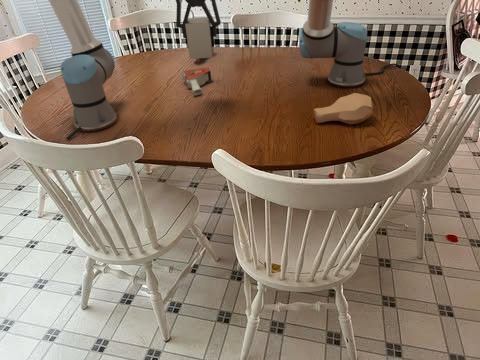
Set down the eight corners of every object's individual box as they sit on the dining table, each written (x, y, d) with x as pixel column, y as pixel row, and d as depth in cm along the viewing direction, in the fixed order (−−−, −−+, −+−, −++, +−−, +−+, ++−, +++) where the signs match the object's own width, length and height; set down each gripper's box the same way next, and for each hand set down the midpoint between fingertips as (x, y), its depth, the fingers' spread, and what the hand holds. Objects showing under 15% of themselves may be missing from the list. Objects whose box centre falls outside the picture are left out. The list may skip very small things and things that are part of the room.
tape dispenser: (197, 100, 148) (224, 81, 161) (196, 88, 145) (223, 70, 157) (165, 91, 156) (193, 74, 168) (163, 80, 152) (192, 63, 165)
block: (213, 50, 135) (210, 16, 128) (212, 57, 128) (209, 22, 121) (192, 51, 135) (188, 18, 128) (189, 58, 128) (185, 23, 121)
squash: (377, 125, 120) (379, 103, 114) (317, 135, 122) (317, 114, 116) (367, 107, 128) (369, 85, 121) (311, 116, 130) (311, 95, 123)
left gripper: (225, -28, 119) (230, 42, 133) (163, -24, 120) (174, 45, 133) (224, -25, 113) (229, 48, 127) (159, -22, 114) (171, 51, 127)
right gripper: (344, -57, 154) (339, -3, 167) (287, -53, 155) (286, 0, 168) (348, -56, 148) (342, 0, 161) (289, -52, 149) (287, 3, 162)
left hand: (201, 46), depth 130 cm, fingers closed on block, 8 cm apart
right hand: (313, 0), depth 164 cm, fingers open, 13 cm apart
